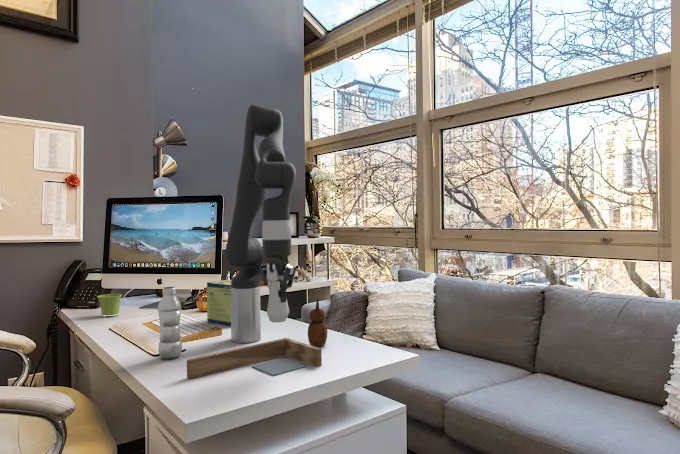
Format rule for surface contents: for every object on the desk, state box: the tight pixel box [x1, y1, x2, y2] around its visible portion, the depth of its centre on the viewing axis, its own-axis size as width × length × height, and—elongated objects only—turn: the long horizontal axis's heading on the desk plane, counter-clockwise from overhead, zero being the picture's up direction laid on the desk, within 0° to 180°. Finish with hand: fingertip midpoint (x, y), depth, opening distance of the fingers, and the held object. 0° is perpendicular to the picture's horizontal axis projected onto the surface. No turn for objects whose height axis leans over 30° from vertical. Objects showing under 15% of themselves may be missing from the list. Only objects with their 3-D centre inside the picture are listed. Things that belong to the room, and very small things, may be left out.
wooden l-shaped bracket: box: [186, 337, 323, 380], centre depth 118 cm, size 16×30×4 cm, turn 132°
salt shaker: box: [266, 272, 290, 323], centre depth 121 cm, size 6×6×13 cm
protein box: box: [206, 279, 232, 327], centre depth 178 cm, size 10×16×16 cm
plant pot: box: [96, 293, 123, 316], centre depth 192 cm, size 9×9×9 cm
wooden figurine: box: [307, 298, 328, 348], centre depth 142 cm, size 7×6×15 cm
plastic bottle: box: [157, 286, 183, 359], centre depth 131 cm, size 6×7×20 cm
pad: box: [251, 357, 306, 377], centre depth 121 cm, size 10×10×1 cm
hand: (277, 303), depth 121 cm, fingers closed on salt shaker, 3 cm apart
